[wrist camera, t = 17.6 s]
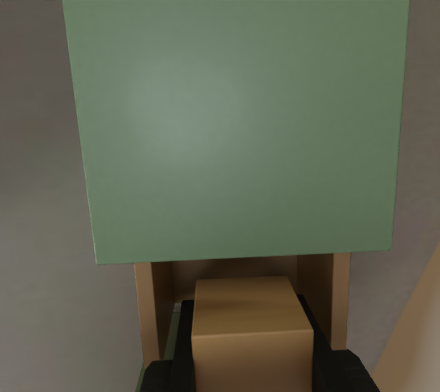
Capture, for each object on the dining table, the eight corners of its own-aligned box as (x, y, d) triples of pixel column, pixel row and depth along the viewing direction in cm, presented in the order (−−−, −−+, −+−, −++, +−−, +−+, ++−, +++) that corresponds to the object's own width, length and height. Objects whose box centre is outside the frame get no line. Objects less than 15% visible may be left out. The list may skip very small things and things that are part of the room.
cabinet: (320, 200, 24) (392, 251, 14) (141, 208, 23) (95, 265, 14) (325, -32, 20) (423, -162, 11) (119, -25, 20) (41, -152, 11)
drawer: (311, 380, 26) (354, 489, 18) (163, 389, 26) (143, 502, 18) (317, 133, 22) (375, 139, 14) (141, 141, 21) (103, 151, 14)
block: (286, 353, 18) (311, 430, 13) (201, 357, 17) (197, 437, 13) (287, 274, 17) (314, 330, 12) (196, 278, 16) (191, 336, 12)
